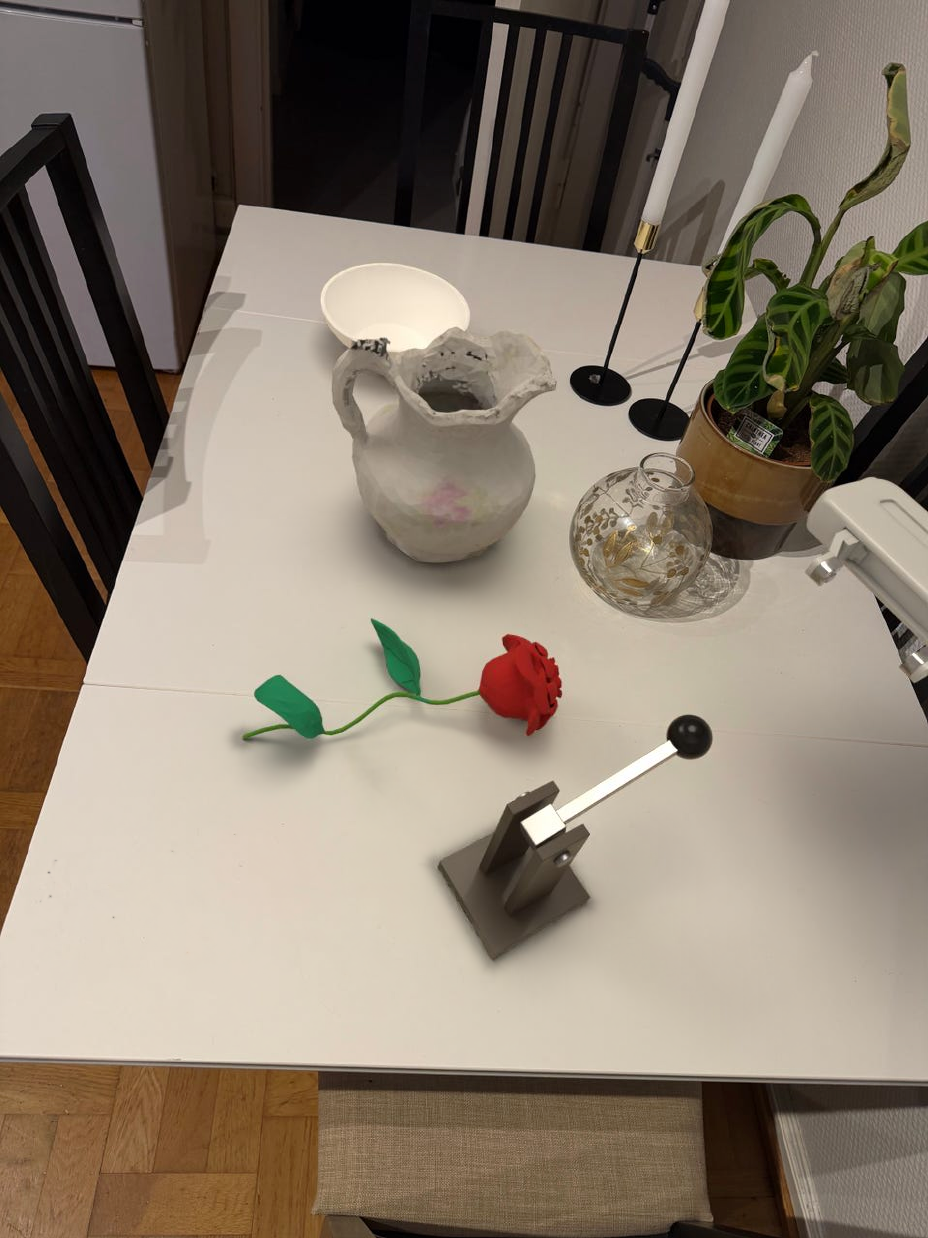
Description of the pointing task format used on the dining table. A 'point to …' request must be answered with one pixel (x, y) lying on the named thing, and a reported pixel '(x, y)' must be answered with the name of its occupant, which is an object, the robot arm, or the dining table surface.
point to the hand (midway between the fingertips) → (861, 620)
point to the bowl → (392, 306)
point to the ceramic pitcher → (445, 439)
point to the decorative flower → (507, 686)
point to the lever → (620, 779)
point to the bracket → (516, 876)
